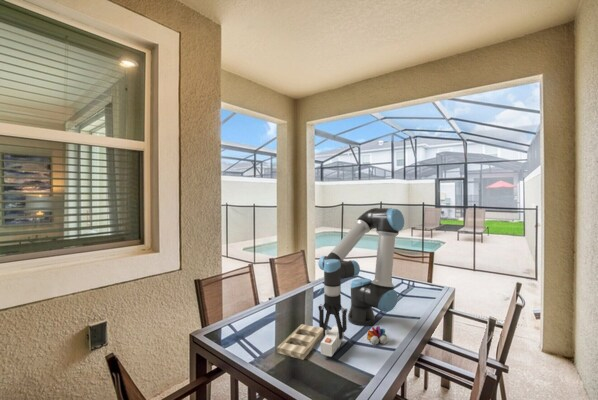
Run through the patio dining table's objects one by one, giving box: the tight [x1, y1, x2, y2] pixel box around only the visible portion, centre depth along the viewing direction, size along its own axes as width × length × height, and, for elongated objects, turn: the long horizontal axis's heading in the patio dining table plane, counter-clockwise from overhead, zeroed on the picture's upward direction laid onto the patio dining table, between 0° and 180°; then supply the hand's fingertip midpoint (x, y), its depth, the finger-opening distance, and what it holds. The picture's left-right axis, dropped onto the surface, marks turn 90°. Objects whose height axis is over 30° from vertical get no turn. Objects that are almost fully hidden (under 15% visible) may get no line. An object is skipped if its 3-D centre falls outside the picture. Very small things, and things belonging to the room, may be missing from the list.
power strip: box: [320, 325, 345, 358], centre depth 128 cm, size 5×18×8 cm, turn 154°
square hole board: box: [276, 323, 324, 360], centre depth 135 cm, size 13×26×2 cm, turn 154°
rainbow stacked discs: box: [366, 325, 388, 346], centre depth 136 cm, size 8×10×7 cm
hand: (332, 344), depth 128 cm, fingers closed on power strip, 5 cm apart
